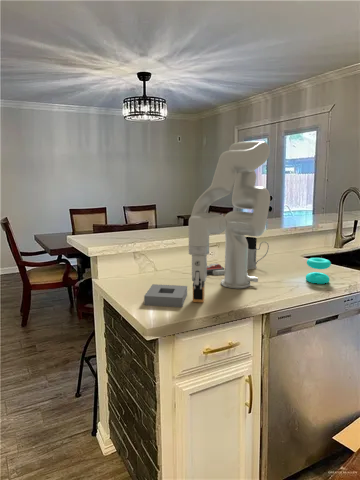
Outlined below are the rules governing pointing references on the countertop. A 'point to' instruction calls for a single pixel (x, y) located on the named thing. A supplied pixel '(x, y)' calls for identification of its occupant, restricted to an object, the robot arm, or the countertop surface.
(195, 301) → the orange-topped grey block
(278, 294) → the countertop surface
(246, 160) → the robot arm
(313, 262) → the donuts
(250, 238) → the grey and black mug
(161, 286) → the socket plate
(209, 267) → the walkie-talkie
